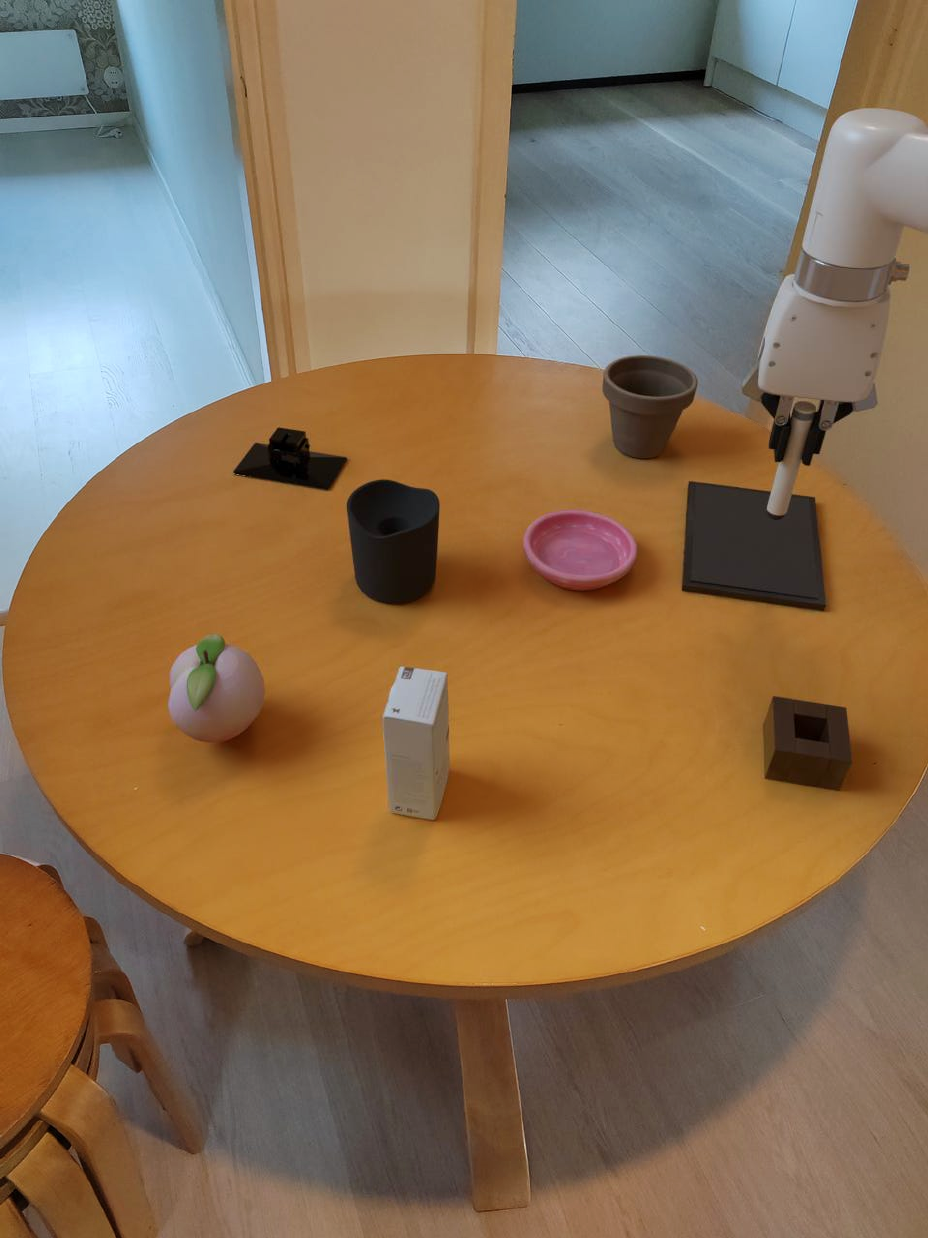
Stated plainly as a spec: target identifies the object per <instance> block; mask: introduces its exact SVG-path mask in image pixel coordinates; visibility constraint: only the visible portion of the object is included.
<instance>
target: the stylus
mask: <svg viewBox="0 0 928 1238" xmlns="http://www.w3.org/2000/svg"><path fill="white" fill-rule="evenodd" d="M791 411H792V412H791V414H790V417H791V419H790V422H791V432H790V436H789V440H788V444H787V447H786V451H785V455H784V458H783V461H781V462H778V464H777V468H776V473H775V476H774V480H773V483H772V487H771V490H770V491H771V494H770V498H769V502H768V505H767V515H768V516H769V517H770V518H771V519H773V520H780V519H782V518H783V517H784V516H785V515H786V513H787V509H788V506H789V502H790V499H791V495H792V494H793V491H794V488H795V484H796V481H797V478H798V474H799V471H800V467H801V465H802V456H803V452H804V449H805V445H806V442H807V438H808V435H809V431H810V428H811V425H812V421H813V418H814V415H815V412H817V407H816V405H815V404H814V403H812V402H810V401H806V400H803V401H802V400H800V401H796V402H795V403H794V404H793V406H792V410H791Z"/></svg>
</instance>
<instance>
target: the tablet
mask: <svg viewBox="0 0 928 1238" xmlns="http://www.w3.org/2000/svg"><path fill="white" fill-rule="evenodd" d="M770 494H771V490H763V489H755V488H749V487H748V488H747V487H739V486H731V485H725V484H724V485H723V484H715V483H708V482H701V481H694V480H693V481H692V480H689V481H688V484H687V495H686V511H685V512H686V513H685V527H684V528H685V529H684V542H683V543H684V544H683V545H684V546H683V559H682V560H683V562H682V575H681V576H682V577H681V591H683V592H689V593H695V594H701V595H702V594H703V595H710V596H715V597H723V598H724V597H725V598H731V599H738V600H745V601H751V602H758V603H766V604H772V605H780V606H785V607H793V608H800V609H806V610H807V609H808V610H813V611H821V612H824V611H825V610H826V607H827V599H826V598H827V597H826V588H825V580H824V570H823V560H822V552H821V550H822V549H821V541H820V532H819V522H818V511H817V504H816V503H817V502H816V497H815V496H808V495H802V494H801V495H800V494H794V493H792V495H791V499H790V502H789V506H788V509H787V513H786V515H785V516H784V517H783V518H782V519H780V520H773V519H771V518H770V517H769V516H768V515H767V505H768V502H769V498H770Z"/></svg>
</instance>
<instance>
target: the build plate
mask: <svg viewBox="0 0 928 1238" xmlns="http://www.w3.org/2000/svg"><path fill="white" fill-rule="evenodd" d="M306 433H307V432H306V431H304V430H299V429H291V428H285V427H280V426H279V427H276V429H275V431H274V432H273V433H272V434H271V436H270V437H269V438H268V442H269V443H262V442H261V443H260V442H254V443H253V445H252V446H251V447H250V449H249V450H248V451H247V452H246V454H245V455H244V457H242V459H241V460H240V462H239V463H238V464H237V466H236V467H235V468H234V470H233V471H232V472H233V473H235V474H239V475H245V476H249V477H248V478H251V477H253V478H252V479H257V478H259V479H258V480H262V479H264V480H263V481H268V480H270V481H269V482H274V481H275V483H280V482H281V484H287V485H293V486H299V487H305V488H311V489H317V490H323V491H329V490H330V489H331V488H332V486H333V485H334V482H335V481H336V479H337V478H338V476H339V474H341V472H342V470H343V468H344V467H345V465H346V463H347V461H348V457H347V456H343V455H342V456H341V455H336V454H330V453H323V452H318V451H317V452H316V451H311V450H310V449H311V444H310V441H309V437H307V434H306ZM239 475H238V476H239ZM245 476H244V477H245ZM250 476H251V477H250ZM254 477H255V478H254Z"/></svg>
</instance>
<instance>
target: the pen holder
mask: <svg viewBox="0 0 928 1238" xmlns="http://www.w3.org/2000/svg"><path fill="white" fill-rule="evenodd" d="M346 501H347V502H346V514H347V522H348V523H347V524H348V531H349V540H350V548H351V556H352V557H351V558H352V564H353V571H354V576H355V583H356V585H357V587H358V588H359V590H360V591H361V593H363V594H364V595H365V596H367V597H368V598H370V599H372V600H374V601H376V602H379V603H383V604H390V605H397V604H398V605H400V604H406V603H411V602H413V601H416V600H418V599H420V598H422V597H423V596H425V595H426V594H428V592H429V591H430V590H431V589H432V588H433V586H434V584H435V581H436V575H437V564H438V562H437V561H438V546H439V545H438V544H439V527H440V524H439V523H440V507H441V505H440V504H441V503H440V499H439V497H438V495H437V493H435V492H434V491H433V490H432V489H428V488H422V487H414V486H409V485H407V484H404V483H401V482H398V481H397V480H392V479H383V478H381V479H375V480H371V481H369V482H365V483H364V484H362V485H360V486H358V487H357V488H356V489H354V490H353V491H352V492H351V493H350V495H349V496H348V498H347V500H346Z"/></svg>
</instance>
